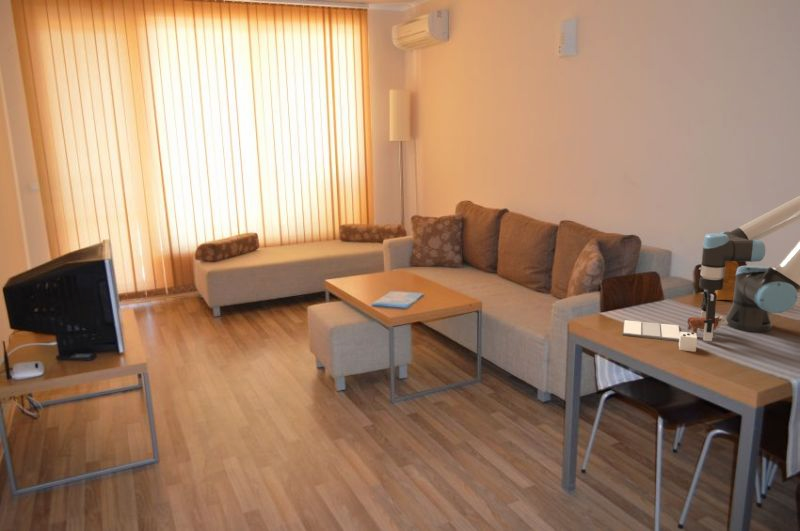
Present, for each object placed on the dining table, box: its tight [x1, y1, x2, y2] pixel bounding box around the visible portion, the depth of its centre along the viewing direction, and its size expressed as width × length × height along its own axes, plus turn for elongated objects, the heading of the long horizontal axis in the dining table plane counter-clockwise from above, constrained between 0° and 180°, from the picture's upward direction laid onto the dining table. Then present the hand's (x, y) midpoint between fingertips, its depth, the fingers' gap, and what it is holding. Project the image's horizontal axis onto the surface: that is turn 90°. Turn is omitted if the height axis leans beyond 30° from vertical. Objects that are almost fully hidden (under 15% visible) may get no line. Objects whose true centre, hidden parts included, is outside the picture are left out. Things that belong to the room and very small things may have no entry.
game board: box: [622, 319, 681, 342], centre depth 225 cm, size 20×16×1 cm
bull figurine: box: [687, 315, 728, 338], centre depth 218 cm, size 4×13×8 cm, turn 78°
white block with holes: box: [678, 331, 698, 353], centre depth 207 cm, size 5×5×6 cm
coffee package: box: [715, 261, 740, 302], centre depth 263 cm, size 10×12×22 cm
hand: (705, 334), depth 219 cm, fingers open, 13 cm apart
